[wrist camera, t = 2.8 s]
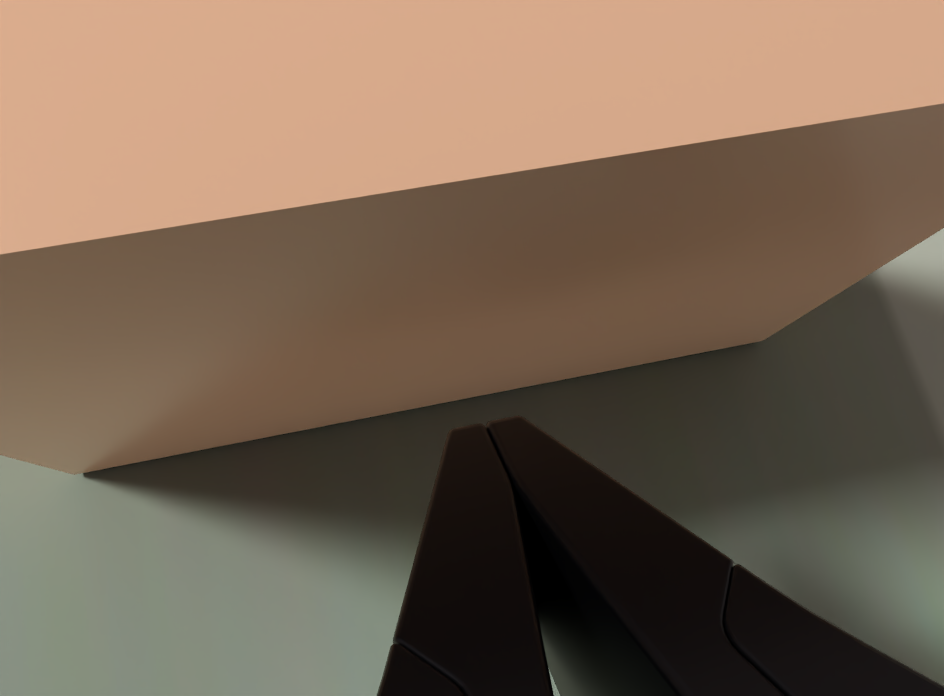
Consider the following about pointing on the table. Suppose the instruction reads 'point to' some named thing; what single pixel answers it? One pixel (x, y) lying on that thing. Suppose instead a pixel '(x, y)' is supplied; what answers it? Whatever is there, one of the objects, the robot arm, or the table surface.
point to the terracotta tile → (428, 199)
